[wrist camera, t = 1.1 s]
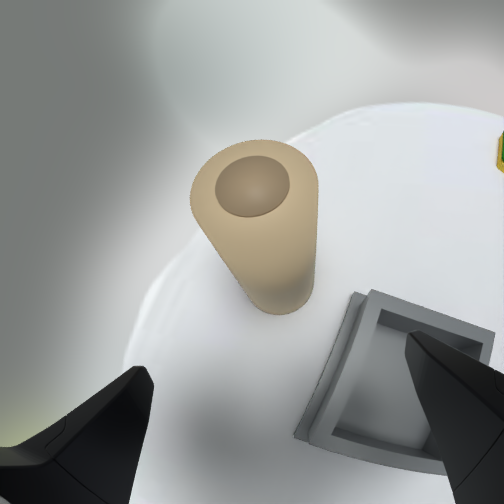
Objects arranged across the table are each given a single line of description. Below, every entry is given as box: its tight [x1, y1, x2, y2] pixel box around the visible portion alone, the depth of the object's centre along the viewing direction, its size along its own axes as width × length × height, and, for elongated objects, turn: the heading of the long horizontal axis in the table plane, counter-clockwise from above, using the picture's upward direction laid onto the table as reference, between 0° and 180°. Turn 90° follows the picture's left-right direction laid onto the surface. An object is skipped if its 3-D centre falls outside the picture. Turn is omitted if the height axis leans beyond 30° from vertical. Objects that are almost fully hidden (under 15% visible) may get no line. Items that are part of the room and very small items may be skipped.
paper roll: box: [190, 140, 318, 315], centre depth 18 cm, size 6×6×13 cm
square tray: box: [294, 289, 495, 476], centre depth 16 cm, size 12×12×5 cm
